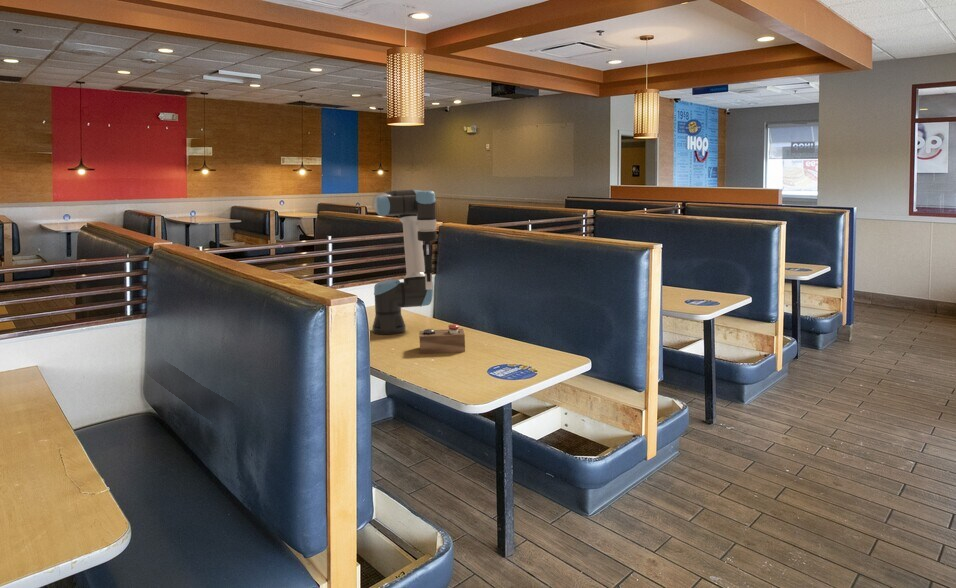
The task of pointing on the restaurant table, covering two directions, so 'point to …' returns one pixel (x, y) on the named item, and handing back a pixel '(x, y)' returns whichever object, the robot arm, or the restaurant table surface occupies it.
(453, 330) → the plug red
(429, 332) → the plug grey
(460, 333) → the block
